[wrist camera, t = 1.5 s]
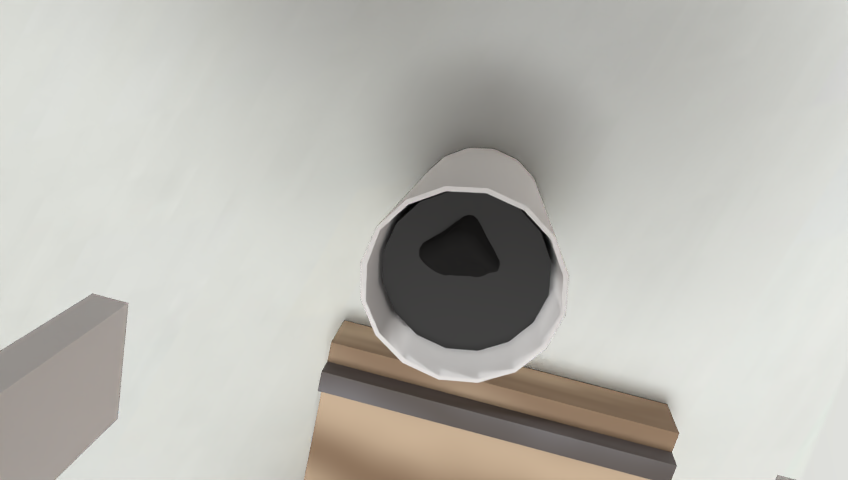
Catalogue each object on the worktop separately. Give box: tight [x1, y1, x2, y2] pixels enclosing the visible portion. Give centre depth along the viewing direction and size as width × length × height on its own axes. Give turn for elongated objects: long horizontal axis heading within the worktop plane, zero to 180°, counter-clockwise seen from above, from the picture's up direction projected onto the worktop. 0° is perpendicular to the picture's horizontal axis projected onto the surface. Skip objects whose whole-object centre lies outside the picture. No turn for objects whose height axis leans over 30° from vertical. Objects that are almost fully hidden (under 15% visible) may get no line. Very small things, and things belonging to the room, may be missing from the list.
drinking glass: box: [361, 148, 569, 383], centre depth 26 cm, size 7×7×10 cm
